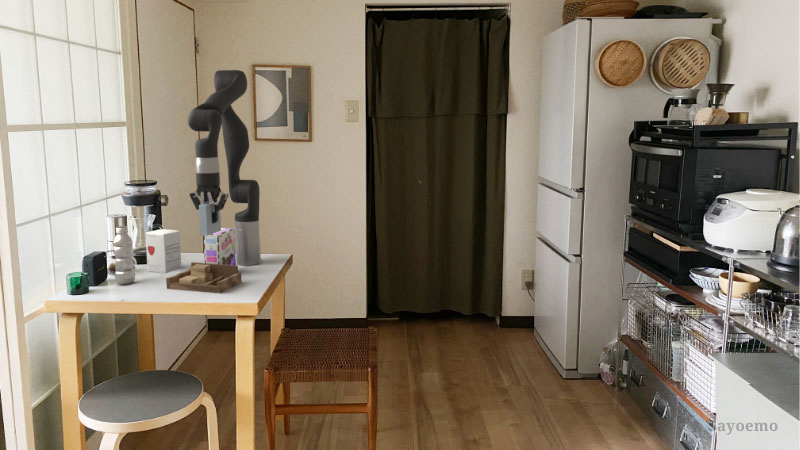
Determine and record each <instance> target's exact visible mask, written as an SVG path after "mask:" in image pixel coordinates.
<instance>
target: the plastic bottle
mask: <svg viewBox="0 0 800 450" xmlns="http://www.w3.org/2000/svg"><path fill="white" fill-rule="evenodd" d="M128 230H129V229H128V226H126V225H125V226H124V225H123V226H121V225H120V226H116V227H115V236H114V238H113V239H112V248H113V251H114V258H115V259H114V260H115V271H114V279H115V282H116V283H117V284H118V285H127V284H128V285H129V284H131V283H133V282H135V279H136V272H135V268H134V263H133V262H134V261H133V247H134V246H133V242H134V241H133V239H132V237H131V236H130V235H129V233H128V232H129V231H128Z"/></svg>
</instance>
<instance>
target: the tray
mask: <svg viewBox="0 0 800 450" xmlns="http://www.w3.org/2000/svg"><path fill="white" fill-rule="evenodd" d="M196 264H199V265H210V273H212V276H213V280H212V281H210V282H208V283H205V284H203V285H200V284H188V283H179V279H180V278H183V277H186V276H190V275H191V268H188V269H186V270H184V271H181V272H179V273H176V274H174V275H171V276H169V277H166V278H165V280H166V281H165V282H166V290H178V291H187V292H189V291H190V292H200V293H210V294H211V293H213V294H223V292H226V291H228V290H230V289H232V288H234V287H236V286H238V285H240V284H241V283H242V272H239V265H238V264H236V265H225V264H211V263H205V262H196V261H195V262H193V261H192V262H191V263H190V267H192V266H194V265H196Z"/></svg>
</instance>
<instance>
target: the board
mask: <svg viewBox="0 0 800 450" xmlns="http://www.w3.org/2000/svg"><path fill="white" fill-rule="evenodd" d="M218 203H219V201H218ZM198 215H199V217H198V218H199V233H200V235H199V236H203V237H204V236H208V235H211V234H213V233H216V232H219V231H221V228H222V223H221V210H219V211H218V221H217V223H212V210H211V205H210V203H206V204H202V205H199V210H198Z"/></svg>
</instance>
